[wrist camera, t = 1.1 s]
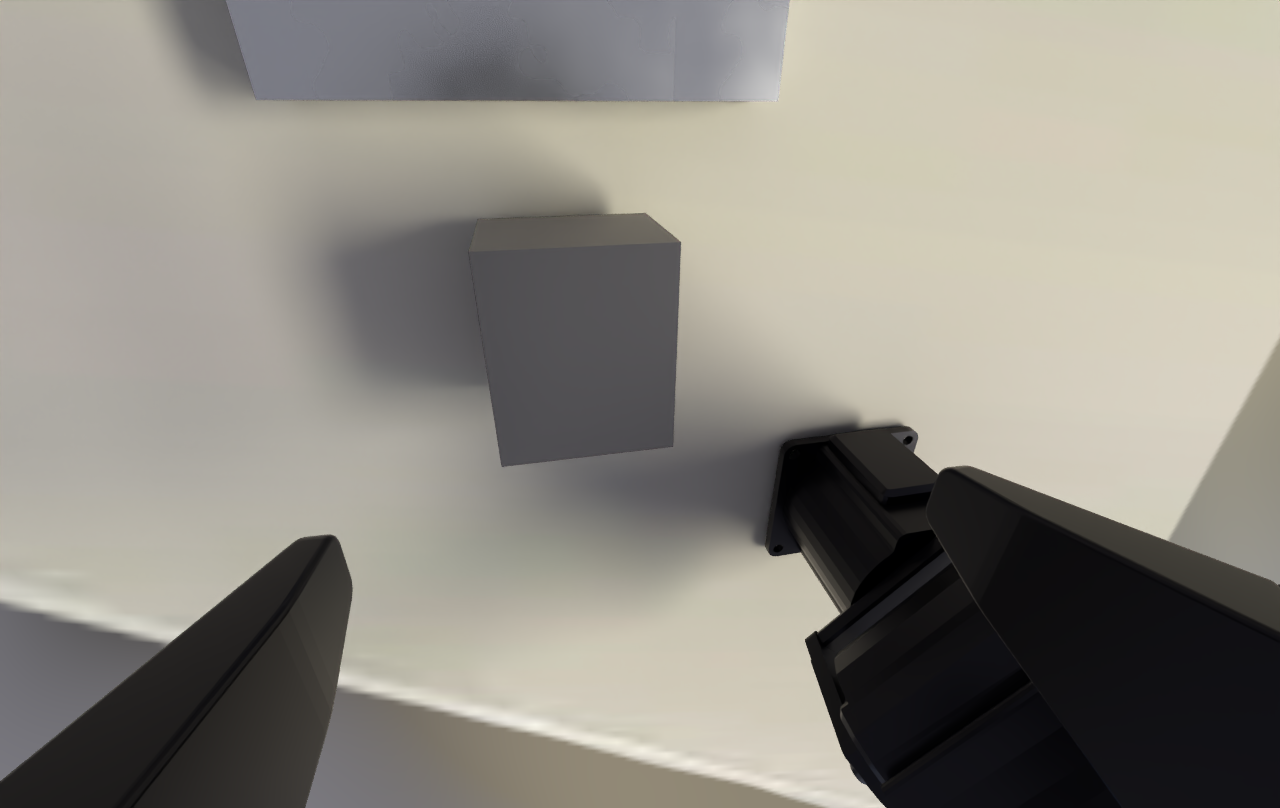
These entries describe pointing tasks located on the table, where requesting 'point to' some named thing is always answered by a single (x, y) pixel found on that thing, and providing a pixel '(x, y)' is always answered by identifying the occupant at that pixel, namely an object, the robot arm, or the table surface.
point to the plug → (578, 333)
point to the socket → (512, 49)
